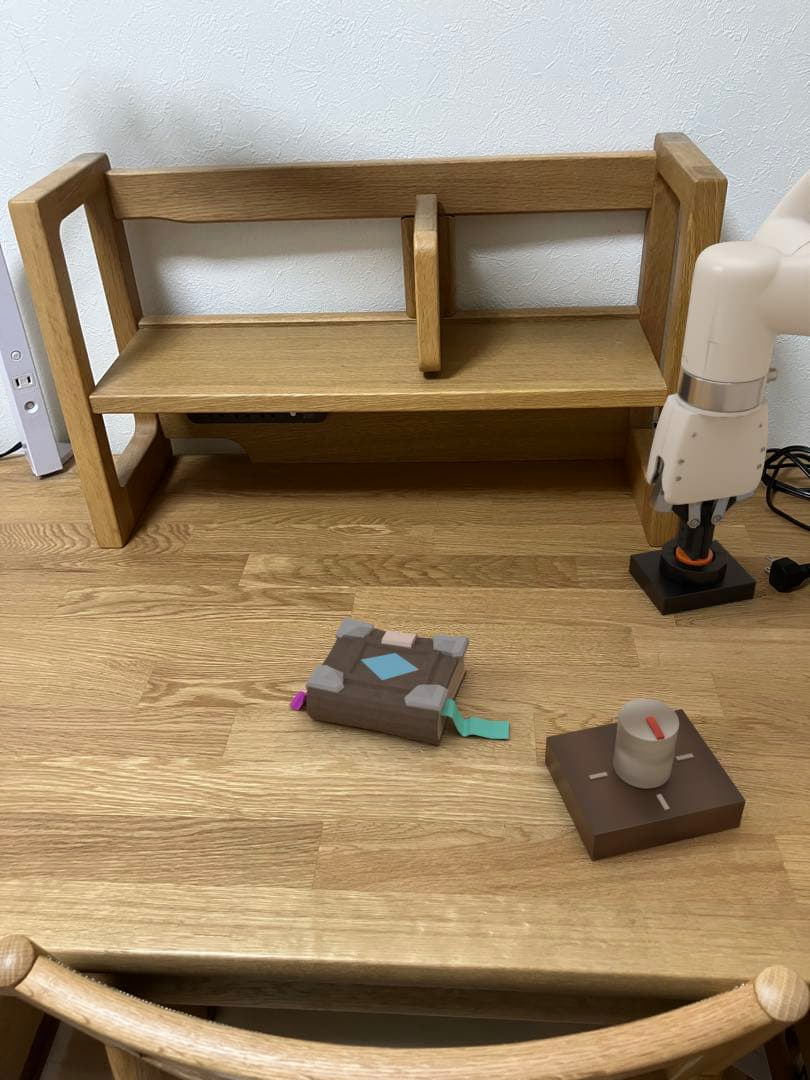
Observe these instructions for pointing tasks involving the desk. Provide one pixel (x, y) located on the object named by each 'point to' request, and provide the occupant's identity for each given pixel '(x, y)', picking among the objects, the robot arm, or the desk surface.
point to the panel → (640, 792)
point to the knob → (645, 743)
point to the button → (684, 558)
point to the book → (393, 684)
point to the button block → (690, 579)
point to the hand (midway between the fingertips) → (692, 551)
